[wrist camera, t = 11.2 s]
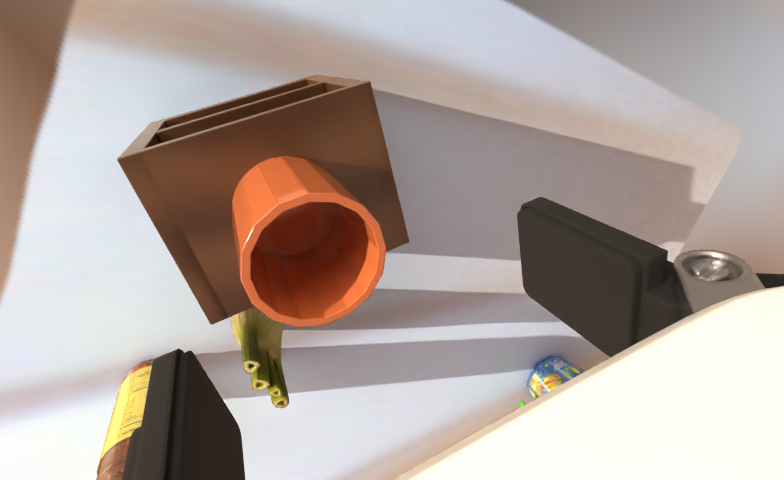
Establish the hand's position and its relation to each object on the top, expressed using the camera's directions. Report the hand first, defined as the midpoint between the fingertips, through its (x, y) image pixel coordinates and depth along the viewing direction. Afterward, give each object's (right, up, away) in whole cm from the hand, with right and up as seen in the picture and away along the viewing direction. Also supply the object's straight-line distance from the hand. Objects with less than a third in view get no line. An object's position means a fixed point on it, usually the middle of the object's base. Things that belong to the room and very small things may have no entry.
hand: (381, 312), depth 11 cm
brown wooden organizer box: (-11, +9, +26) cm, 30 cm away
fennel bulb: (-14, -5, +31) cm, 34 cm away
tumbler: (-6, +4, +14) cm, 16 cm away
